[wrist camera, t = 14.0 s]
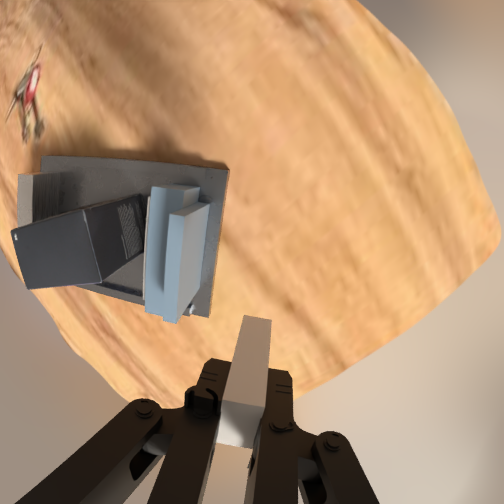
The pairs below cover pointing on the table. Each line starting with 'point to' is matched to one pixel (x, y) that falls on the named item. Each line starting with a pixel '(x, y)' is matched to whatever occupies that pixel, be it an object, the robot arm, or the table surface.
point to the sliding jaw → (173, 249)
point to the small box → (81, 243)
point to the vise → (120, 185)
